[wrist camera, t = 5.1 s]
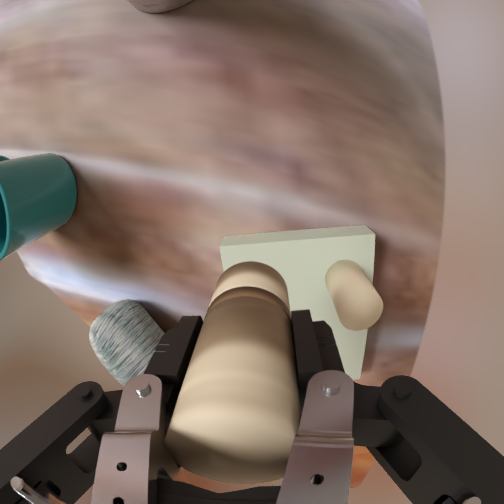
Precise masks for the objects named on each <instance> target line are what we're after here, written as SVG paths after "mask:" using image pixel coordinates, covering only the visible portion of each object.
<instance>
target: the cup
mask: <svg viewBox="0 0 504 504" xmlns="http://www.w3.org/2000/svg"><path fill="white" fill-rule="evenodd" d="M76 199H77V187H76V181H75V177H74V174H73V172H72V170H71V168H70V166H69V165H68V163H67V162H66V161H65V160H64V159H63V158H61V157H60V156H58V155H56V154H51V153H47V154H40V155H34V156H27V157H22V158H16V159H11V160H10V159H9V158H7V157H4V156H0V260H2V259H4V258H6V257H7V256H8V255H11V254H12V253H14V252H16V251H18V250H19V249H21V248H23V247H25V246H26V245H28V244H30V243H32V242H34V241H35V240H37V239H39V238H41V237H43V236H45V235H47V234H48V233H50V232H52V231H54V230H56V229H58V228H60V227H62V226H63V225H64V224H66V223H67V222H68V220H69V219H70V217H71V216H72V214H73V212H74V209H75V205H76Z"/></svg>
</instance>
